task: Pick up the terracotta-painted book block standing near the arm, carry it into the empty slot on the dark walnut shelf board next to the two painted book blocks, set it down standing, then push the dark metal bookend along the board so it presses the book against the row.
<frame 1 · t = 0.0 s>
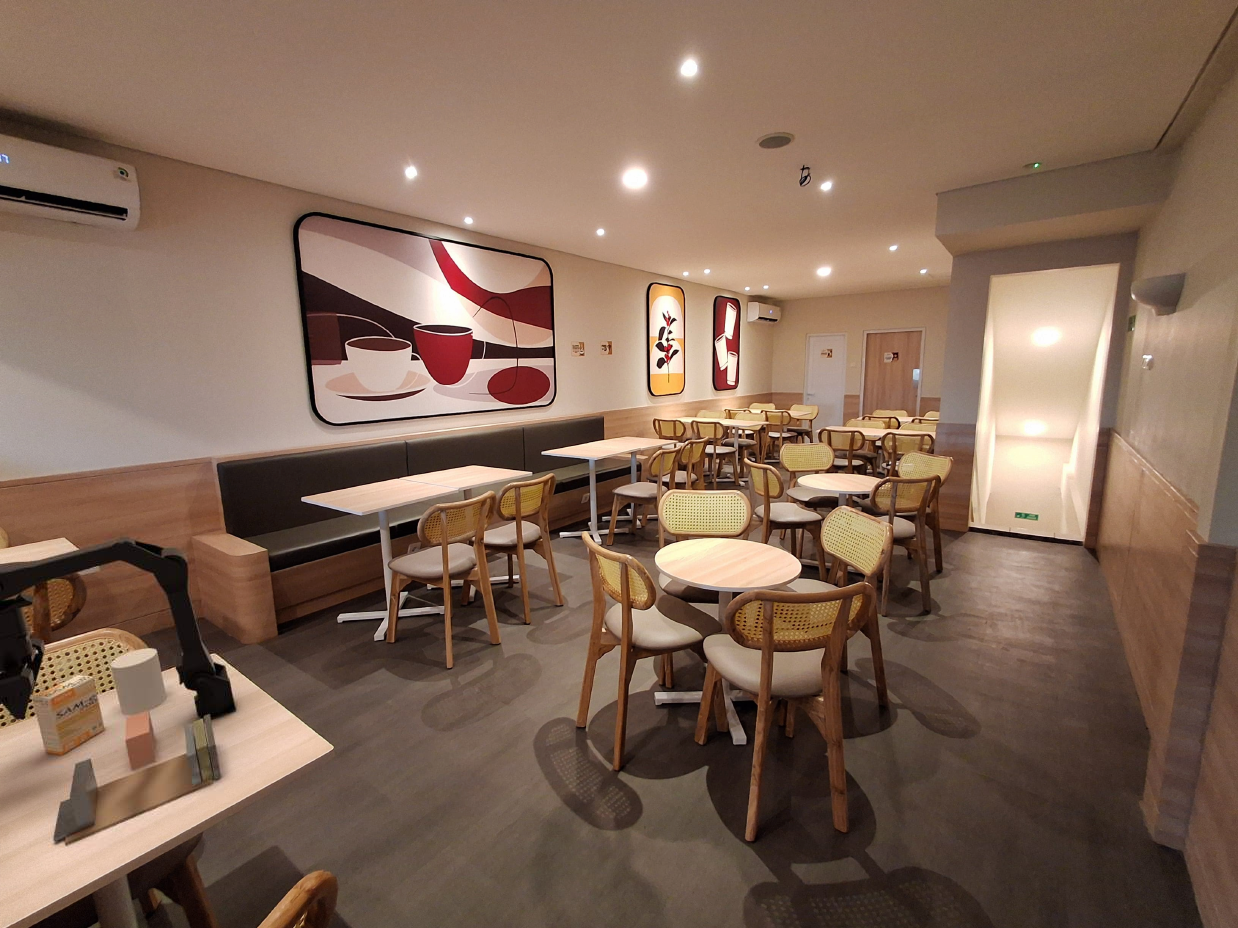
hand: (24, 706, 105), 15 cm above the table, fingers open, 9 cm apart
cup: (144, 704, 129), on the table
book: (144, 754, 112), on the table
shelf: (157, 785, 104), on the table
bookend: (73, 797, 96), point 4 cm above the table, slide at 0.0 cm
supplement box: (77, 741, 116), on the table
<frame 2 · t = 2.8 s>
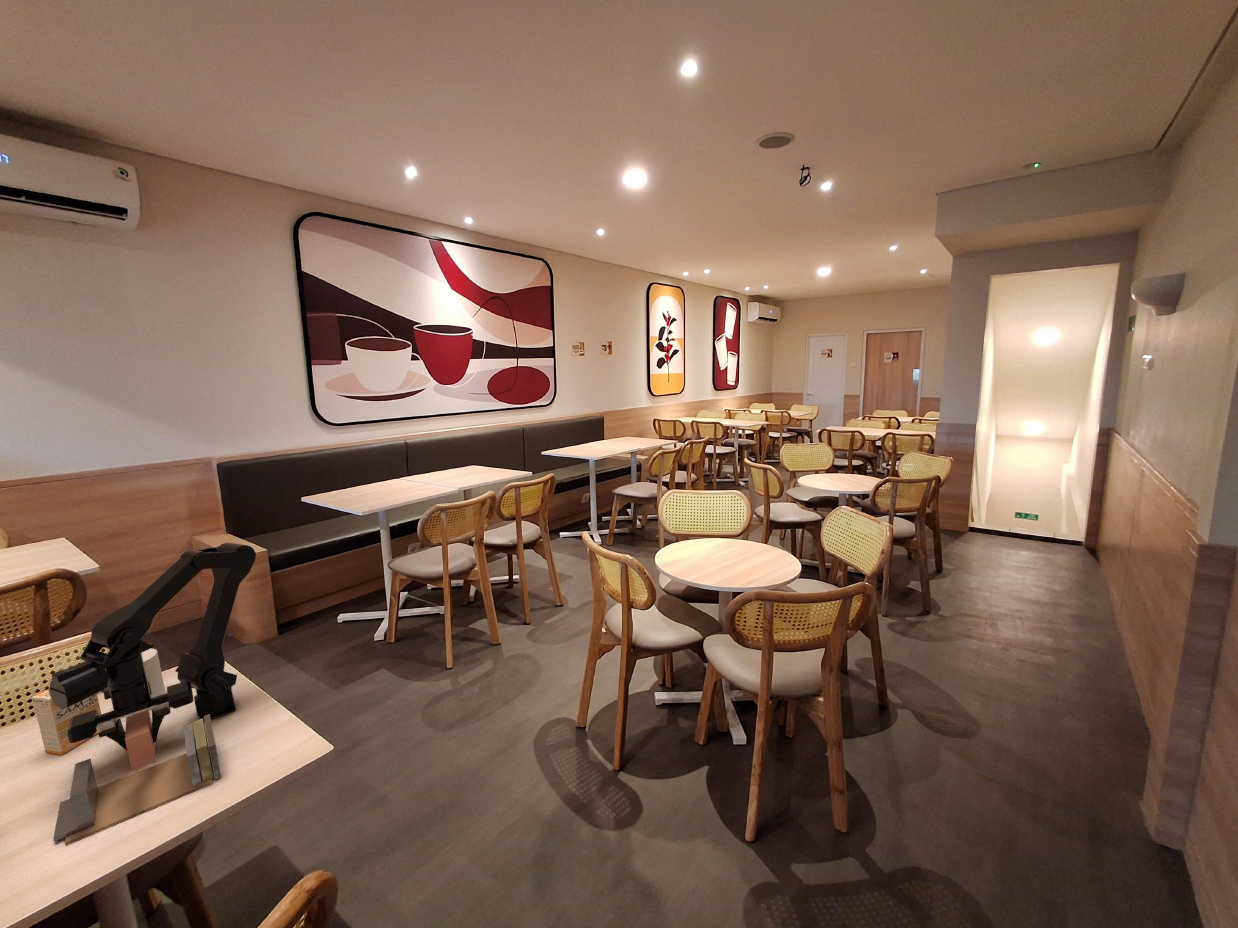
hand: (142, 746, 112), 2 cm above the table, fingers closed on book, 4 cm apart
book: (144, 753, 112), on the table, touching gripper
everything else where it was.
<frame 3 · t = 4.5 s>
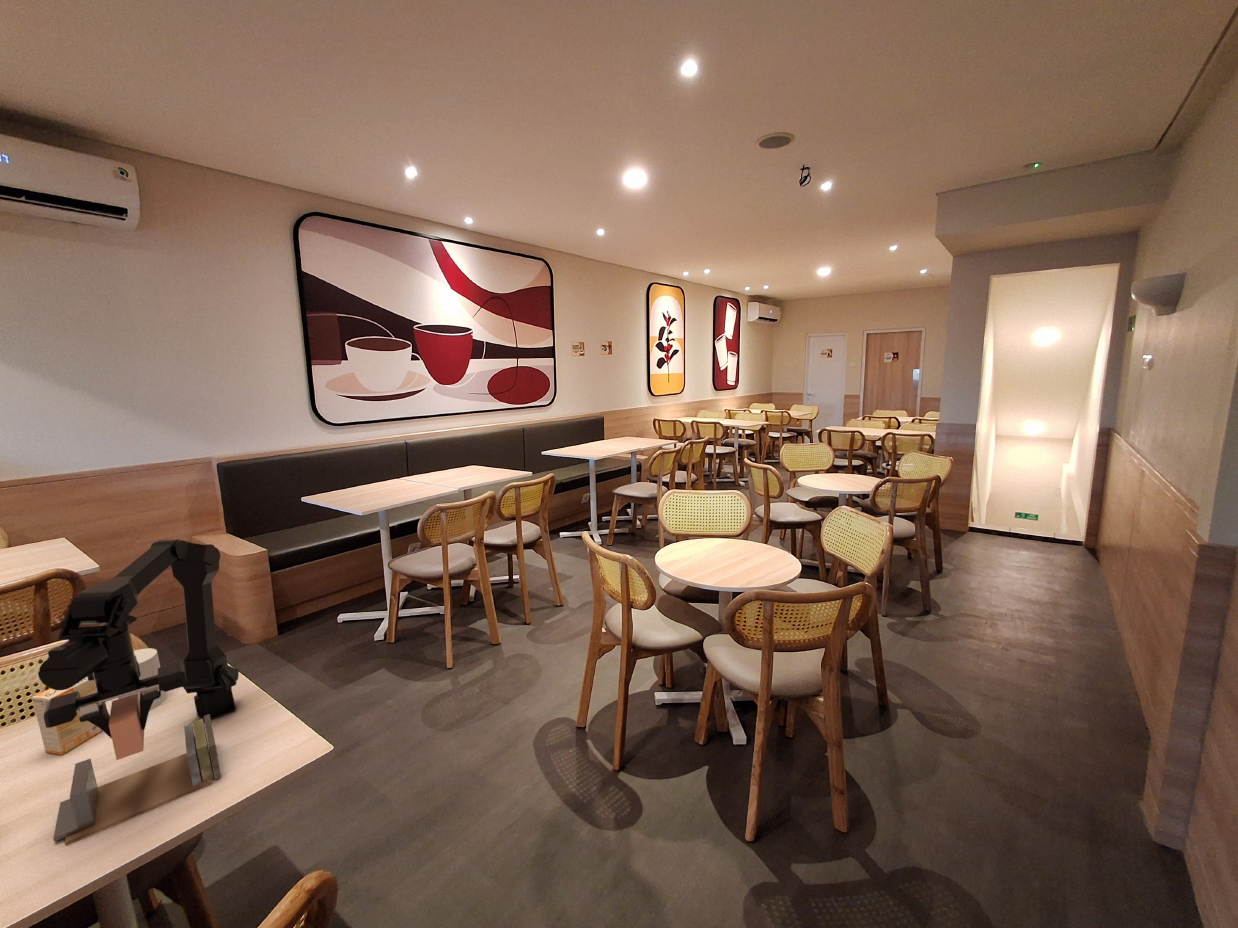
hand: (129, 733, 100), 12 cm above the table, fingers closed on book, 4 cm apart
book: (131, 742, 100), point 10 cm above the table, touching gripper
everything else where it was.
when the fingers open (4 cm above the table, at t = 6.3 s): book drops 2 cm, resting on shelf.
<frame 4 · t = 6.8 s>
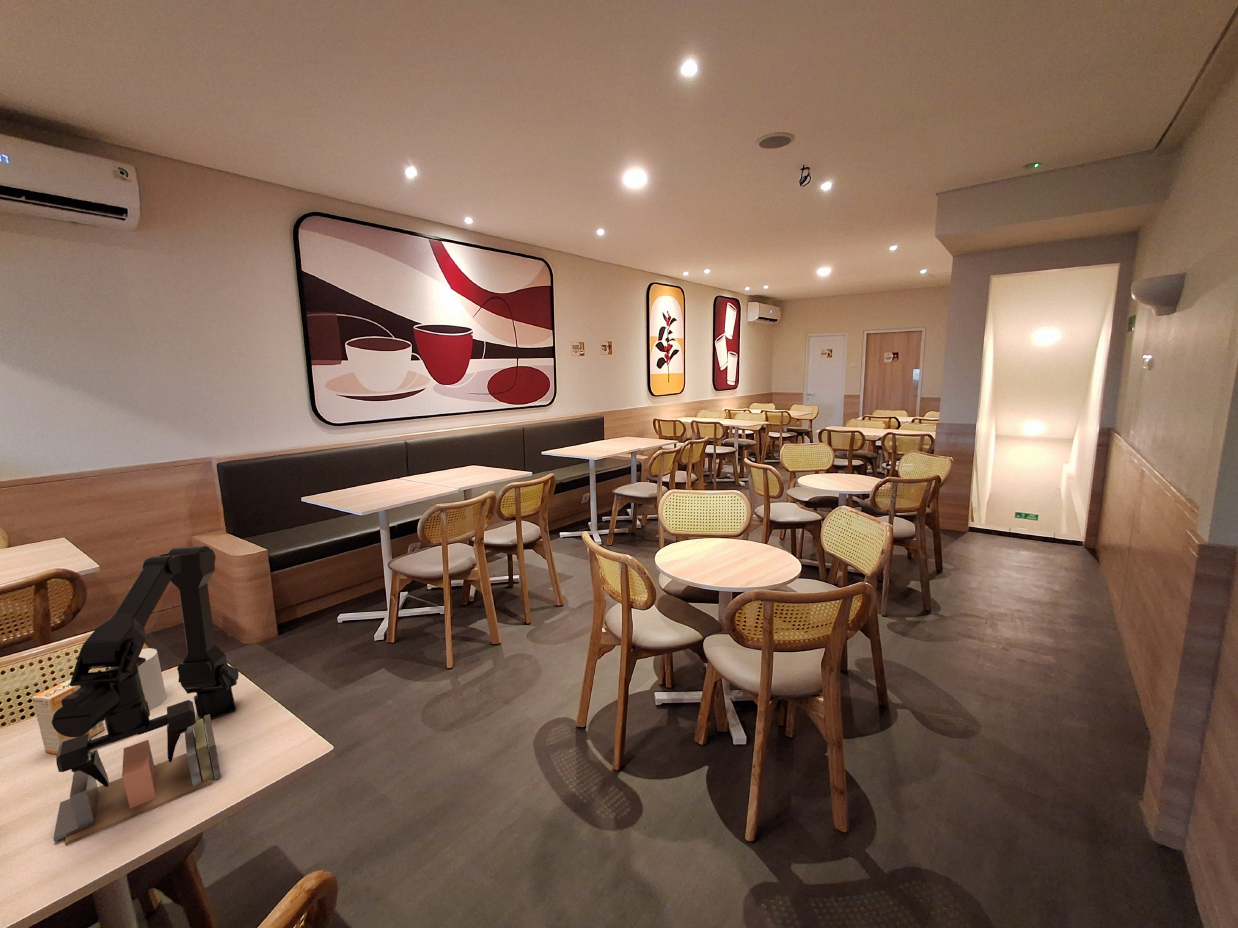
hand: (139, 772, 102), 4 cm above the table, fingers open, 9 cm apart
book: (143, 788, 102), resting on shelf
bookend: (73, 797, 96), point 4 cm above the table, slide at 0.0 cm, touching gripper
everything else where it was.
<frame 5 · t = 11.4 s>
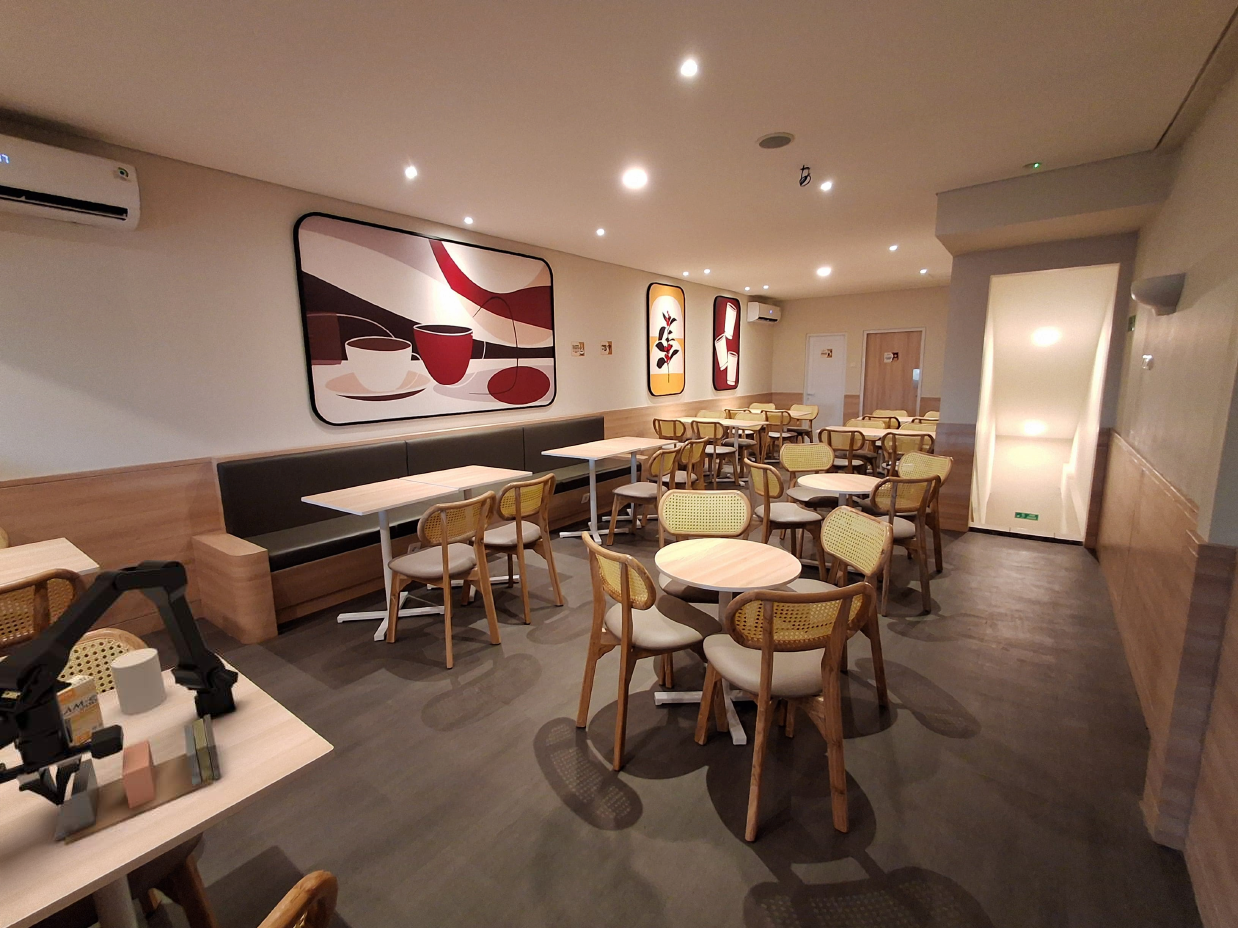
hand: (61, 803, 95), 4 cm above the table, fingers closed
nothing on the table moved.
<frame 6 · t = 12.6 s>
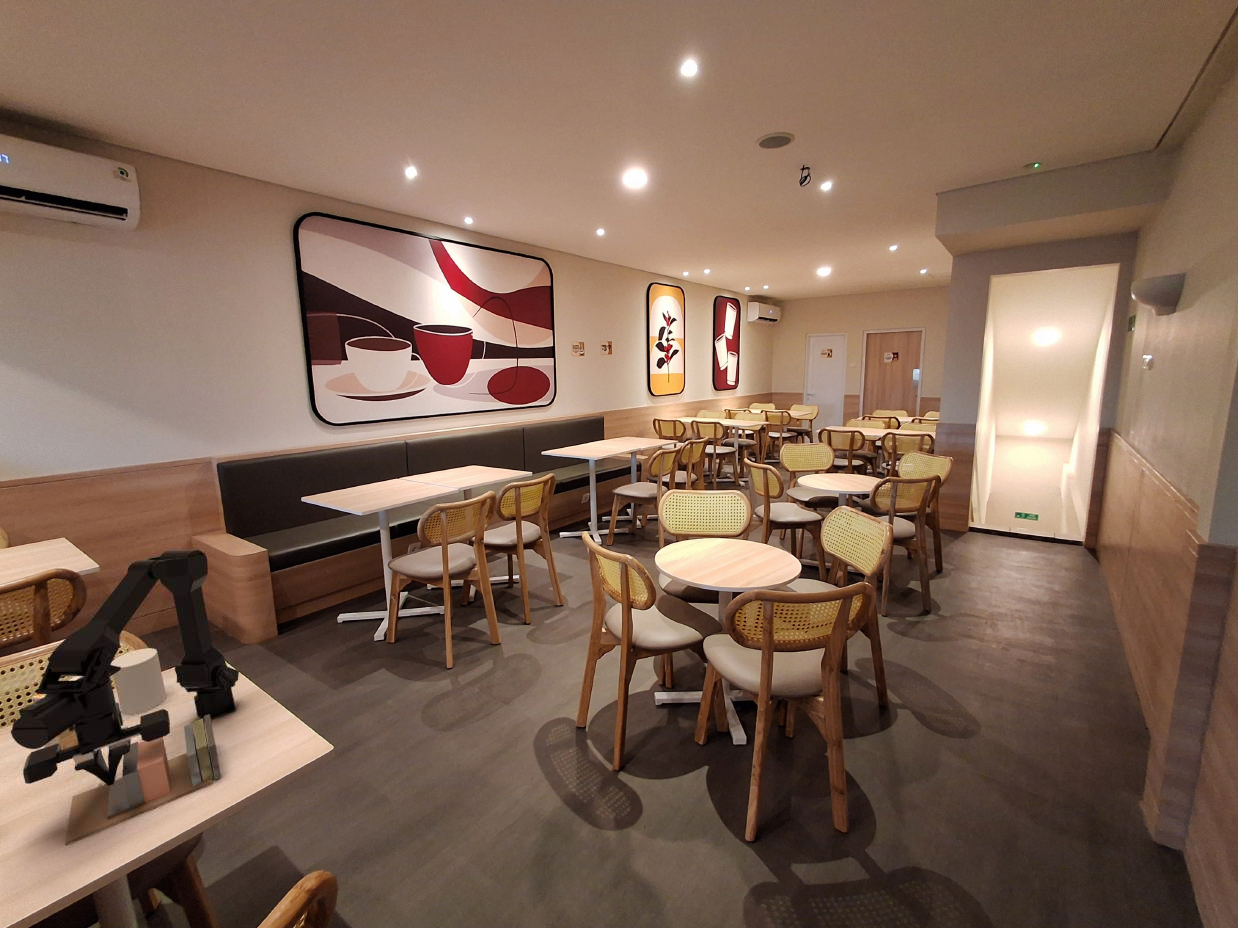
hand: (111, 783, 99), 4 cm above the table, fingers closed
book: (157, 783, 104), point 1 cm above the table, touching bookend
bookend: (123, 778, 100), point 4 cm above the table, slide at 6.7 cm, touching book, gripper
everything else where it was.
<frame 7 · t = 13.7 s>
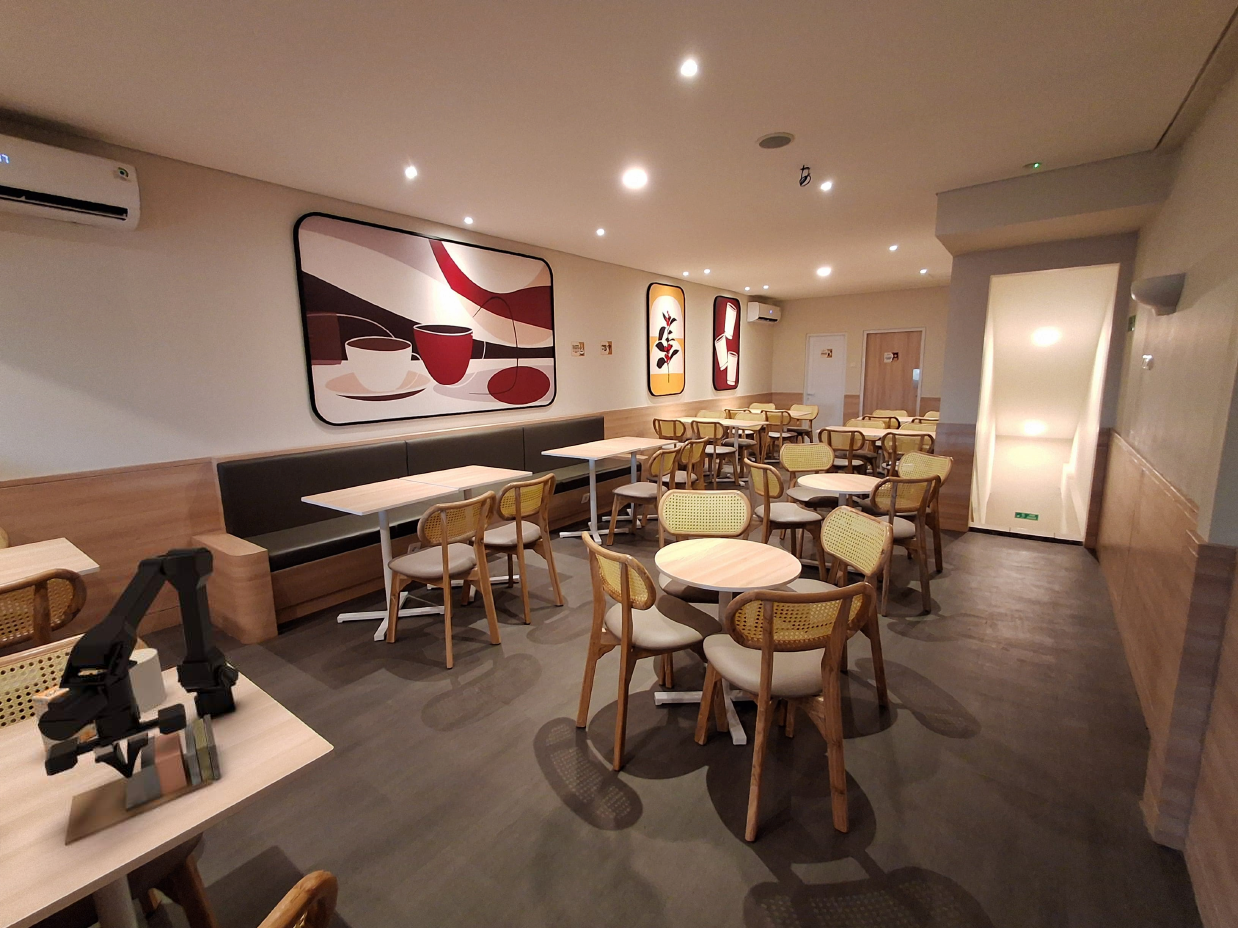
hand: (129, 776, 101), 4 cm above the table, fingers closed
book: (173, 776, 105), resting on shelf, touching bookend
bookend: (141, 771, 102), point 4 cm above the table, slide at 9.1 cm, touching book, gripper
everything else where it was.
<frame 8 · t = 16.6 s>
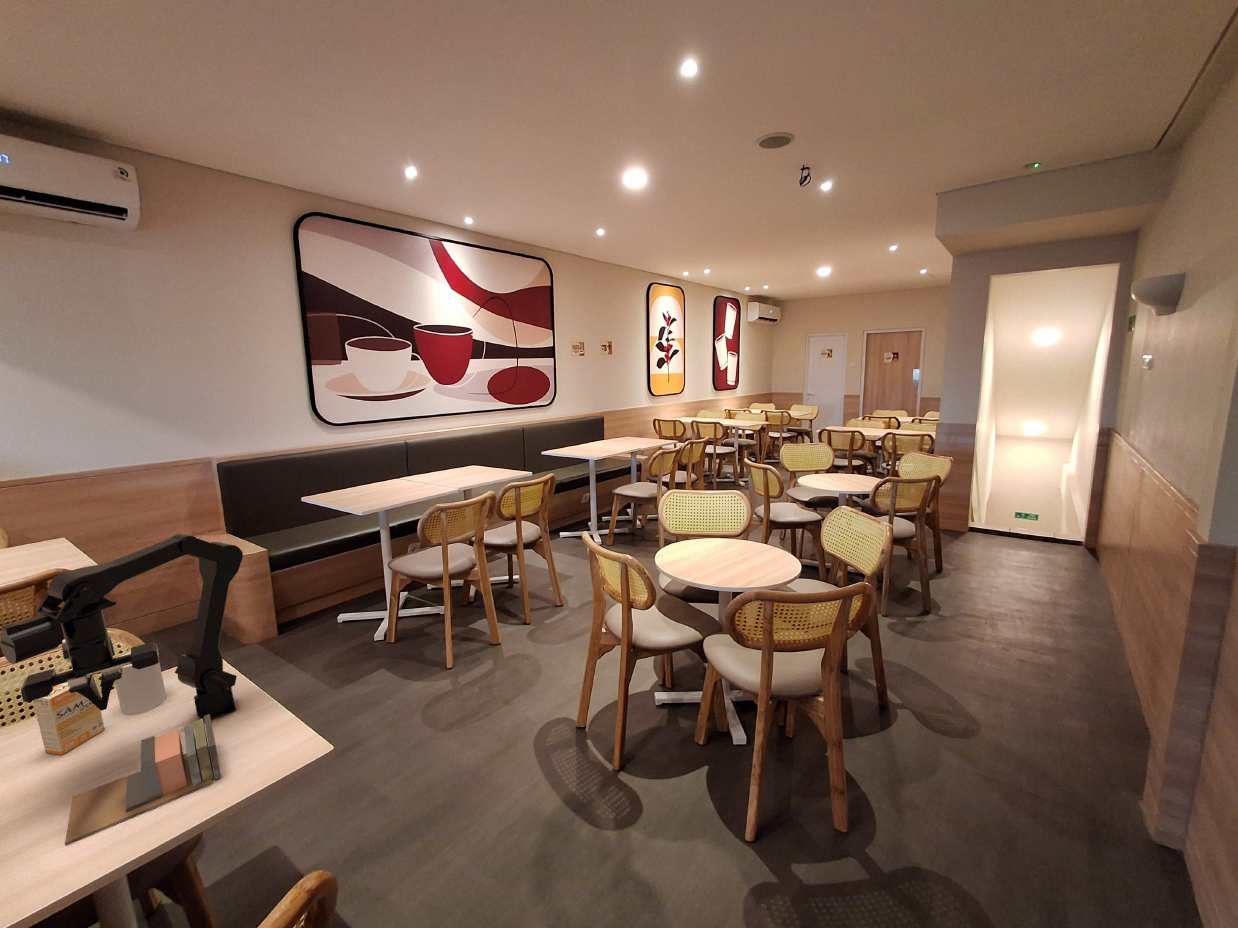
hand: (104, 708, 106), 13 cm above the table, fingers closed
bookend: (141, 771, 102), point 4 cm above the table, slide at 9.1 cm, touching book
everything else where it was.
at the end: book inside the target area (0.1 cm from its centre), point 0.5 cm above the table; book tilted 0°; bookend slide at 9.1 cm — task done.
